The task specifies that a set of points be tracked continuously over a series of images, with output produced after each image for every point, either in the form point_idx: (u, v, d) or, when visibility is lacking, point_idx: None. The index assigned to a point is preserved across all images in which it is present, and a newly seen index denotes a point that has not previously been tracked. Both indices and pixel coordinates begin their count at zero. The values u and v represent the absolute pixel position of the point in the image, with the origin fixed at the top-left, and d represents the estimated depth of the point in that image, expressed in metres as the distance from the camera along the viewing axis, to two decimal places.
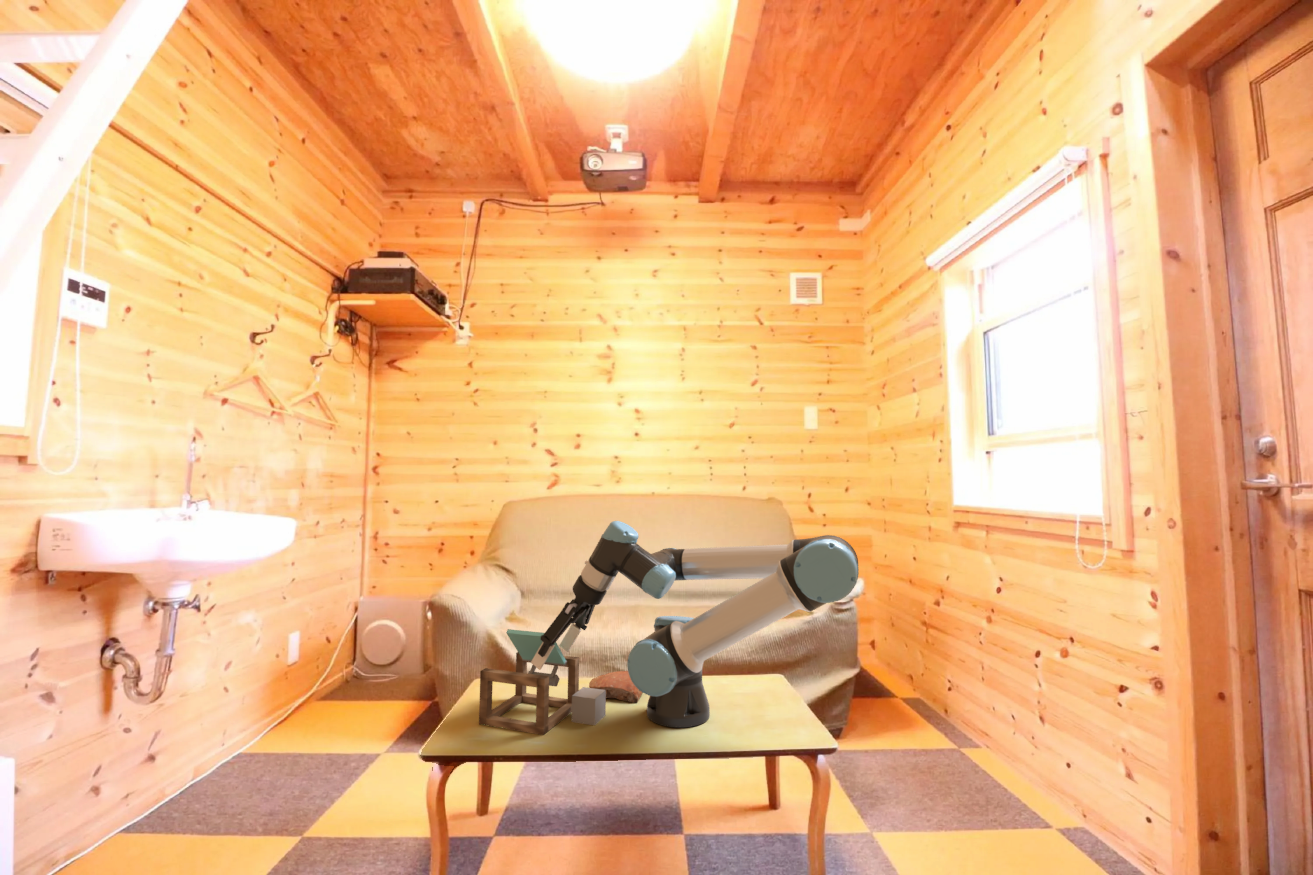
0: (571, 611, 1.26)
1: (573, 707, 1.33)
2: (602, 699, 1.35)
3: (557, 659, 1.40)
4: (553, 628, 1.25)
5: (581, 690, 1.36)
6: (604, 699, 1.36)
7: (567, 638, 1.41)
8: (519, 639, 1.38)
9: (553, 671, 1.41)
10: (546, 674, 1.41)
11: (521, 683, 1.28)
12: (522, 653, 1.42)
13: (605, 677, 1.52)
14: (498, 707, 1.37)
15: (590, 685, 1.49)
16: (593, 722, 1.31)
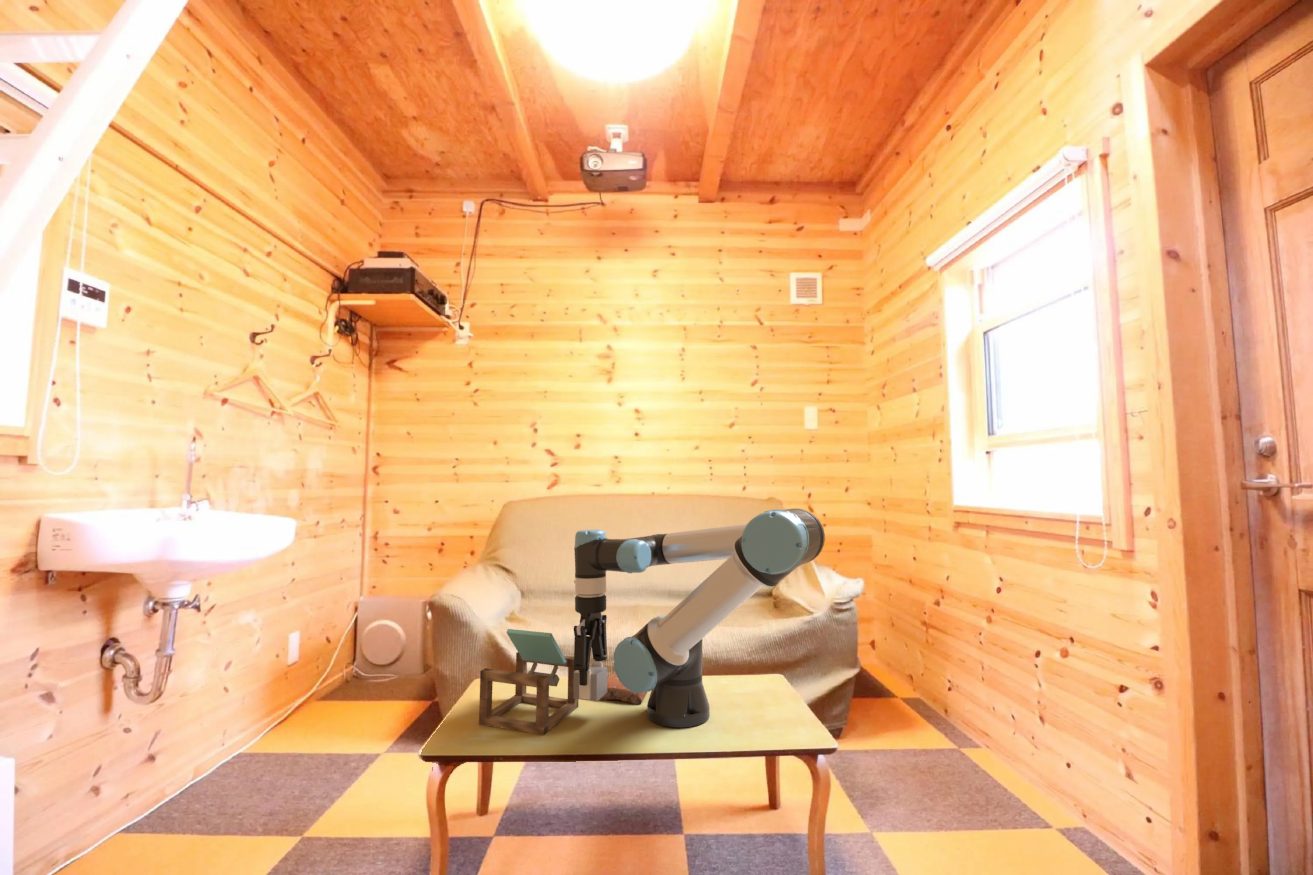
0: (581, 631, 1.30)
1: (575, 683, 1.33)
2: (604, 676, 1.35)
3: (557, 659, 1.40)
4: (578, 654, 1.29)
5: None
6: (606, 676, 1.36)
7: None
8: (519, 638, 1.38)
9: (553, 671, 1.41)
10: (546, 674, 1.41)
11: (521, 683, 1.28)
12: (522, 653, 1.42)
13: (608, 678, 1.51)
14: (498, 707, 1.37)
15: None
16: (595, 698, 1.31)
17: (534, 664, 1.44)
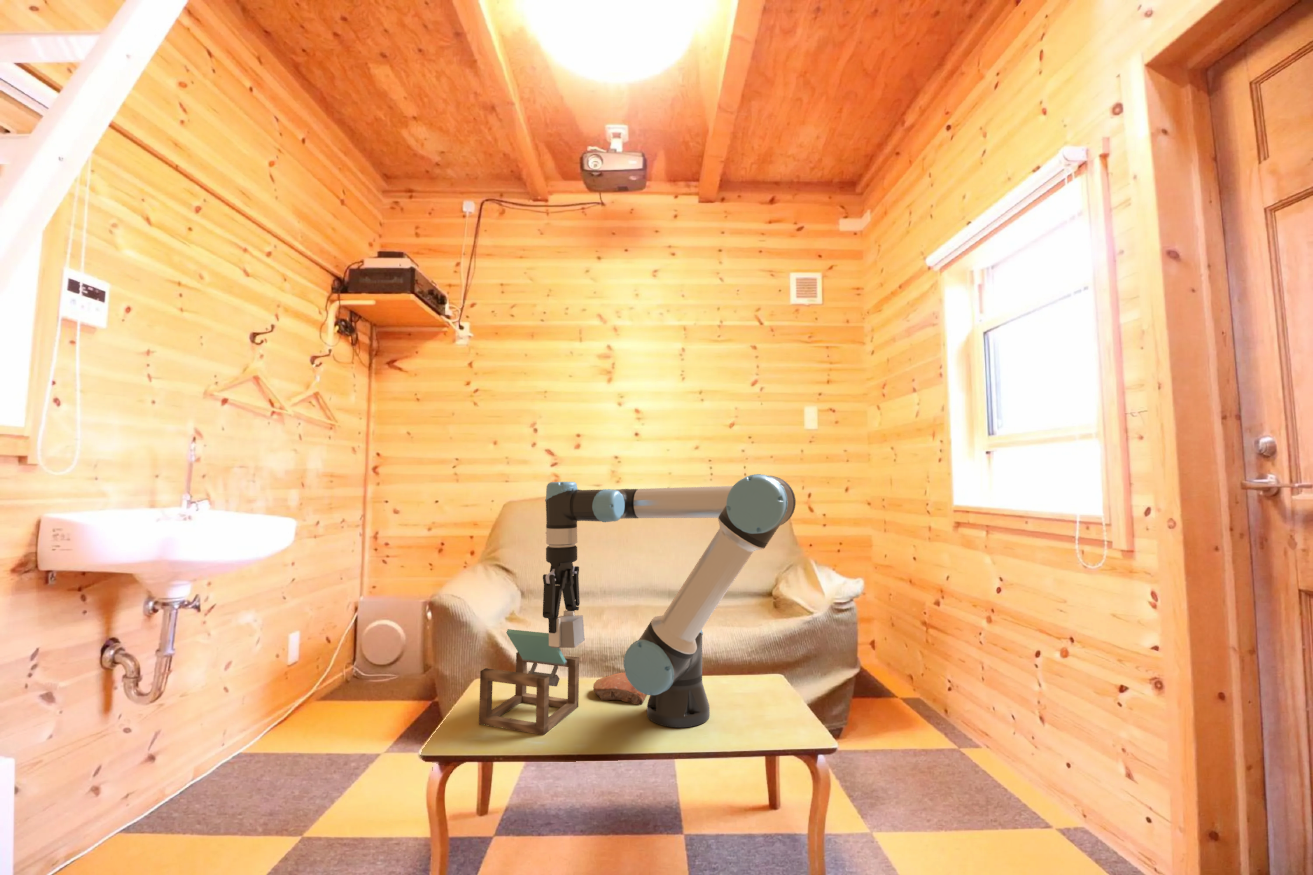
0: (550, 580, 1.31)
1: None
2: (580, 623, 1.36)
3: (557, 659, 1.40)
4: (546, 602, 1.31)
5: None
6: (582, 624, 1.38)
7: None
8: (519, 639, 1.38)
9: (553, 671, 1.41)
10: (546, 674, 1.41)
11: (521, 683, 1.28)
12: (522, 653, 1.42)
13: (609, 678, 1.51)
14: (498, 707, 1.37)
15: (594, 686, 1.48)
16: (573, 644, 1.32)
17: (534, 664, 1.44)
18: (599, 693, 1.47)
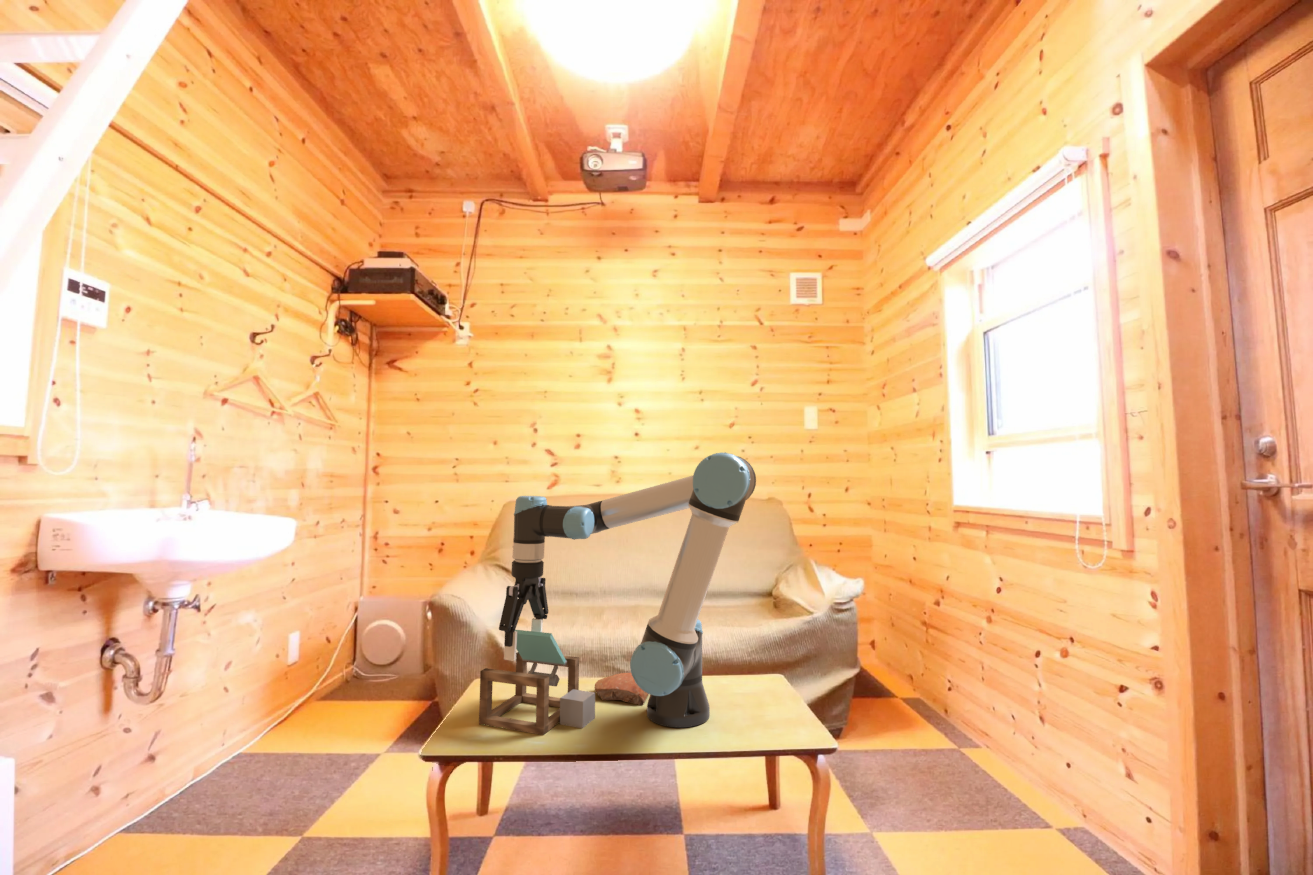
0: (514, 591, 1.30)
1: (561, 709, 1.31)
2: (591, 702, 1.33)
3: (557, 659, 1.40)
4: (505, 614, 1.29)
5: (570, 692, 1.35)
6: (593, 702, 1.34)
7: None
8: (519, 638, 1.38)
9: (553, 671, 1.41)
10: (546, 674, 1.41)
11: (521, 683, 1.28)
12: (522, 653, 1.42)
13: (611, 679, 1.50)
14: (498, 707, 1.37)
15: (595, 687, 1.48)
16: (581, 725, 1.29)
17: (534, 664, 1.44)
18: (600, 693, 1.46)
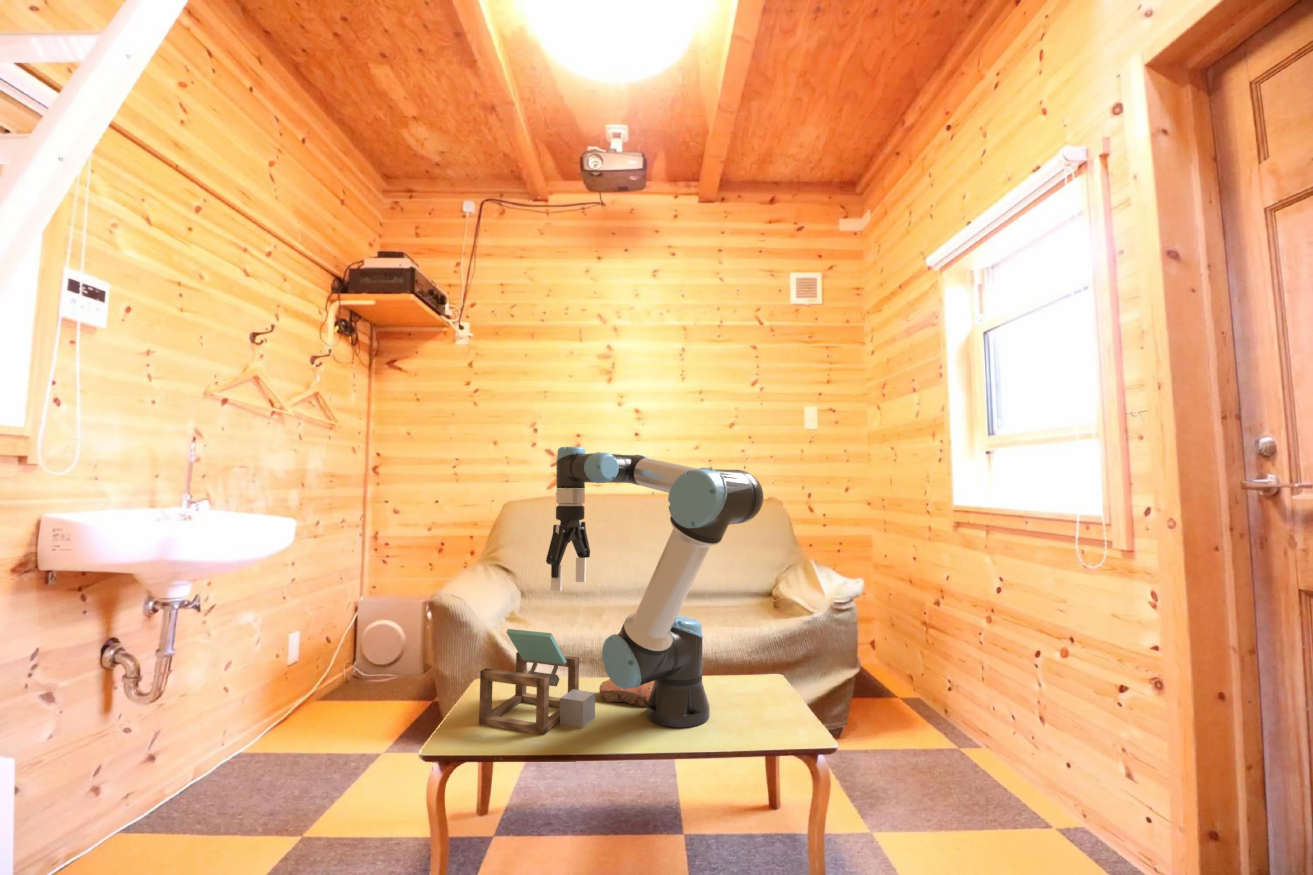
0: (560, 528, 1.43)
1: (561, 709, 1.31)
2: (591, 702, 1.33)
3: (557, 659, 1.40)
4: (552, 548, 1.41)
5: (570, 692, 1.35)
6: (593, 702, 1.34)
7: (578, 572, 1.55)
8: (519, 638, 1.38)
9: (553, 671, 1.41)
10: (546, 674, 1.41)
11: (521, 683, 1.28)
12: (522, 653, 1.42)
13: None
14: (498, 707, 1.37)
15: (600, 688, 1.47)
16: (581, 725, 1.29)
17: (534, 664, 1.44)
18: (605, 695, 1.45)
